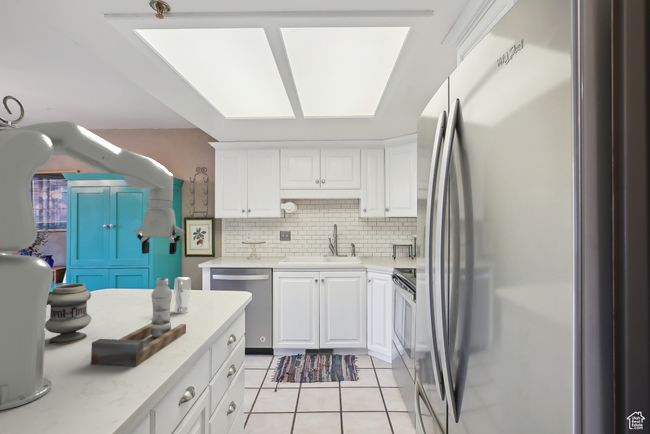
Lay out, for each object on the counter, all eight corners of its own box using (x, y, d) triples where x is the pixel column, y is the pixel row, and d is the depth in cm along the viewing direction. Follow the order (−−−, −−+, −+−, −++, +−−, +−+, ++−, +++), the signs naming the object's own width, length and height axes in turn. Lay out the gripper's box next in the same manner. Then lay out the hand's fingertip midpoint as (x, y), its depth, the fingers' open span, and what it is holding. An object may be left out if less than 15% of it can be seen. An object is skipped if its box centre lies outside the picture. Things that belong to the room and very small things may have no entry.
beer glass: (173, 310, 144) (174, 277, 145) (189, 309, 147) (190, 276, 148) (173, 314, 138) (174, 279, 138) (190, 313, 141) (191, 279, 141)
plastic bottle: (162, 340, 107) (164, 281, 108) (145, 338, 109) (147, 280, 109) (175, 334, 114) (177, 278, 114) (158, 332, 115) (160, 277, 115)
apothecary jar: (33, 344, 102) (36, 287, 102) (68, 332, 113) (71, 281, 114) (67, 347, 100) (69, 289, 100) (99, 334, 112) (101, 283, 112)
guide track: (135, 366, 88) (136, 344, 88) (90, 364, 88) (91, 342, 89) (185, 332, 116) (186, 315, 116) (151, 331, 116) (151, 314, 117)
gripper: (130, 204, 110) (128, 254, 110) (179, 205, 110) (177, 255, 109) (143, 205, 118) (141, 252, 117) (189, 206, 117) (187, 253, 117)
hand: (159, 253), depth 113 cm, fingers open, 9 cm apart
